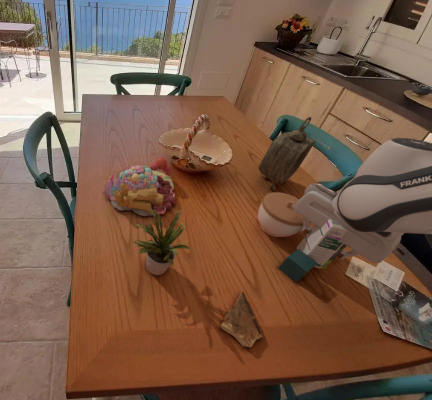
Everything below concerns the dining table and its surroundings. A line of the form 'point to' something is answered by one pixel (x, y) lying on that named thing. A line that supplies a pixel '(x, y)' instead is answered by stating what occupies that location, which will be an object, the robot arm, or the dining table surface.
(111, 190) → the candy landscape model
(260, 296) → the dining table surface
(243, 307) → the shard
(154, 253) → the house plant
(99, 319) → the dining table surface
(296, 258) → the block
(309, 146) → the old cowbell
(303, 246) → the syrup box
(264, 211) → the lidded bowl
